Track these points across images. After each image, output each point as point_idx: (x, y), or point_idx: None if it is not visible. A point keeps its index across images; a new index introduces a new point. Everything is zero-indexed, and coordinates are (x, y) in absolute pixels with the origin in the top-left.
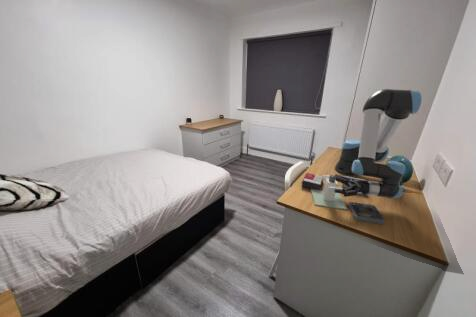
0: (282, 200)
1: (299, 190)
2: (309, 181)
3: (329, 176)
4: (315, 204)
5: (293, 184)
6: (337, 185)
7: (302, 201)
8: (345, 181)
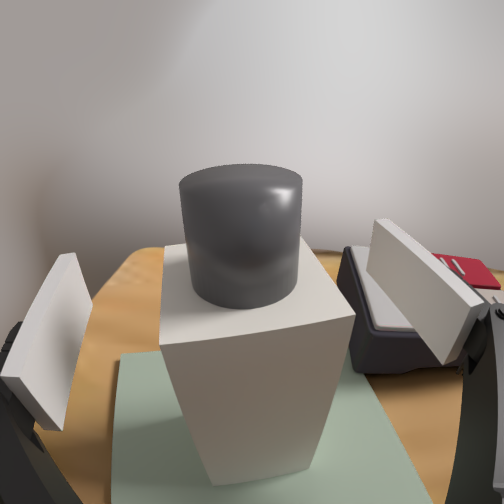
0: (145, 248)
1: None
2: (360, 268)
3: (417, 264)
4: (121, 356)
5: (333, 258)
6: (168, 370)
7: (153, 305)
8: (478, 493)
